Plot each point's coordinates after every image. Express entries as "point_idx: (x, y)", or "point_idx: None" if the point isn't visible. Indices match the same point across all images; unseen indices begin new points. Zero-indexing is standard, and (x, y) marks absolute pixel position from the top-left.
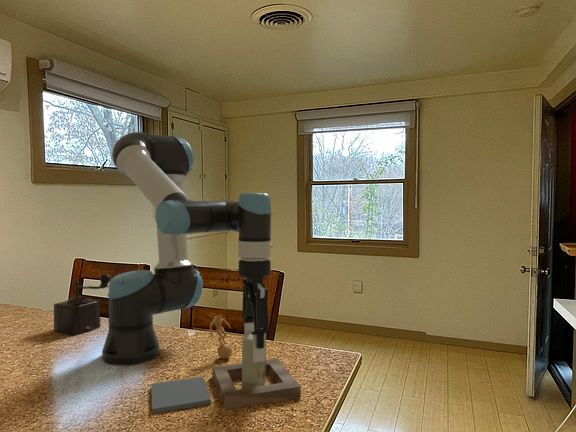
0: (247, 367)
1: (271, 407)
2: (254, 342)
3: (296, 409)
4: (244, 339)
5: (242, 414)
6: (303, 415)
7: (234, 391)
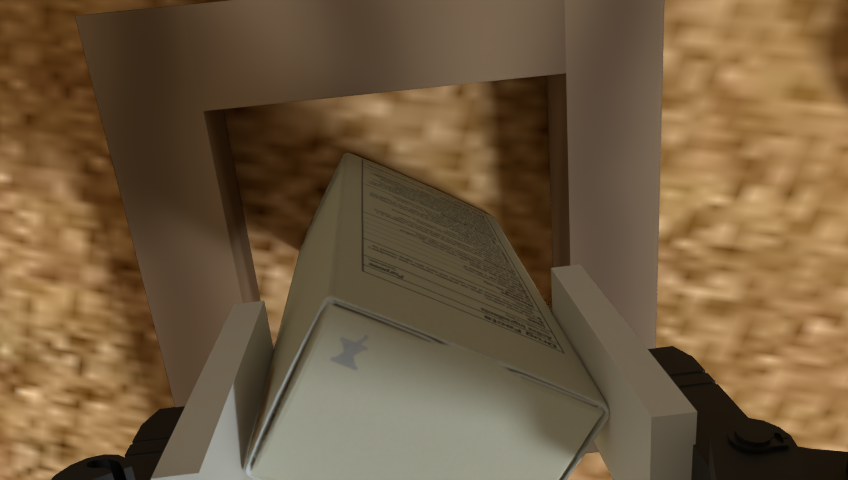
0: (317, 237)
1: (117, 293)
2: (184, 417)
3: (82, 412)
4: (313, 320)
5: (47, 118)
6: (16, 432)
7: (177, 93)
